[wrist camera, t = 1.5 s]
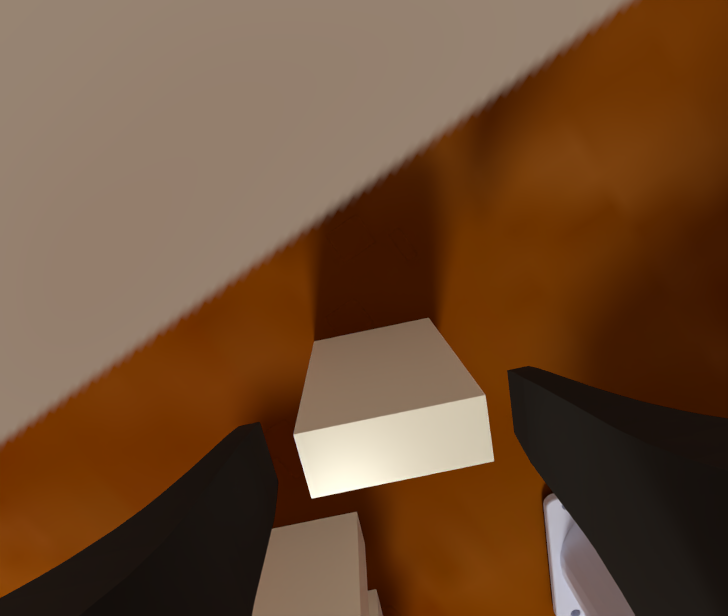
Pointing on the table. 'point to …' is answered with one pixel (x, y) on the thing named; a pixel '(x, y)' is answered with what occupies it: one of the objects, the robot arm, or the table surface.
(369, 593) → the tile
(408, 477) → the tile
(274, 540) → the tile
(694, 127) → the table surface
